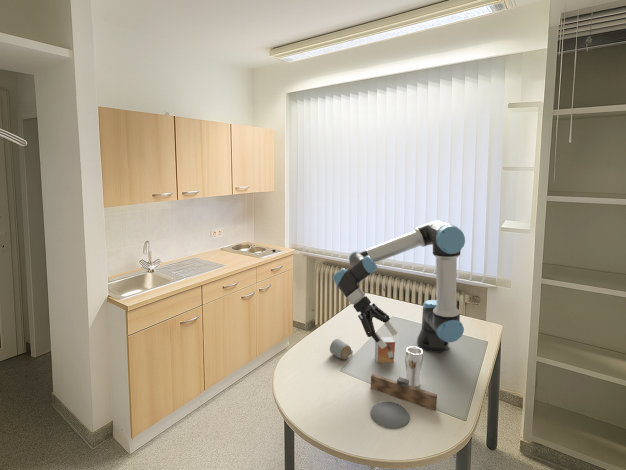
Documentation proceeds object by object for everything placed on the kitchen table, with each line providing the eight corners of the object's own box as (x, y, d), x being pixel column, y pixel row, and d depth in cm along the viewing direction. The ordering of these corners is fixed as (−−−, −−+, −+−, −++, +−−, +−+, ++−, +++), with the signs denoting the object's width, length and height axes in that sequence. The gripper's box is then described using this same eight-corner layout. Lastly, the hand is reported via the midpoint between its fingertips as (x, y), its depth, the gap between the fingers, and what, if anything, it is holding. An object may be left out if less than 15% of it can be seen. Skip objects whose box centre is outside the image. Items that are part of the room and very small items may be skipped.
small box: (377, 363, 172) (378, 342, 170) (374, 357, 178) (375, 336, 176) (394, 363, 173) (395, 342, 171) (390, 356, 178) (392, 336, 176)
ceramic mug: (341, 362, 173) (341, 347, 171) (329, 355, 179) (329, 341, 177) (356, 355, 180) (357, 340, 178) (344, 349, 186) (345, 334, 184)
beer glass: (401, 378, 161) (403, 346, 158) (417, 377, 161) (419, 345, 158) (407, 388, 154) (409, 355, 151) (423, 387, 154) (425, 354, 151)
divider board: (370, 389, 153) (370, 371, 152) (372, 386, 155) (373, 368, 154) (434, 411, 140) (436, 392, 138) (436, 408, 142) (437, 389, 140)
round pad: (404, 403, 145) (404, 401, 144) (413, 428, 131) (413, 427, 131) (368, 402, 145) (368, 401, 145) (373, 427, 131) (373, 426, 131)
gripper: (365, 296, 177) (393, 333, 172) (340, 314, 156) (372, 357, 151) (375, 287, 173) (405, 325, 168) (352, 305, 152) (385, 348, 147)
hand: (390, 340), depth 160 cm, fingers open, 13 cm apart
